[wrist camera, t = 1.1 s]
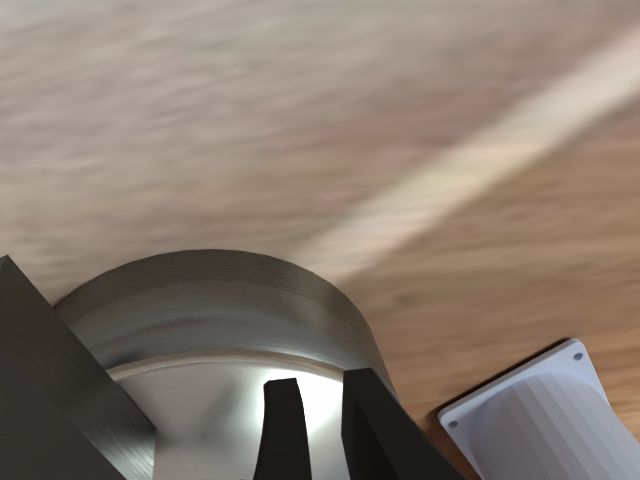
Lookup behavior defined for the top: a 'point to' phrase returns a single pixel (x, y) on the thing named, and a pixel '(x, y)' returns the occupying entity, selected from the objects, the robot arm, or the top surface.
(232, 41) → the top surface
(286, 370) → the cooker lid
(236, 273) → the cooker pot
